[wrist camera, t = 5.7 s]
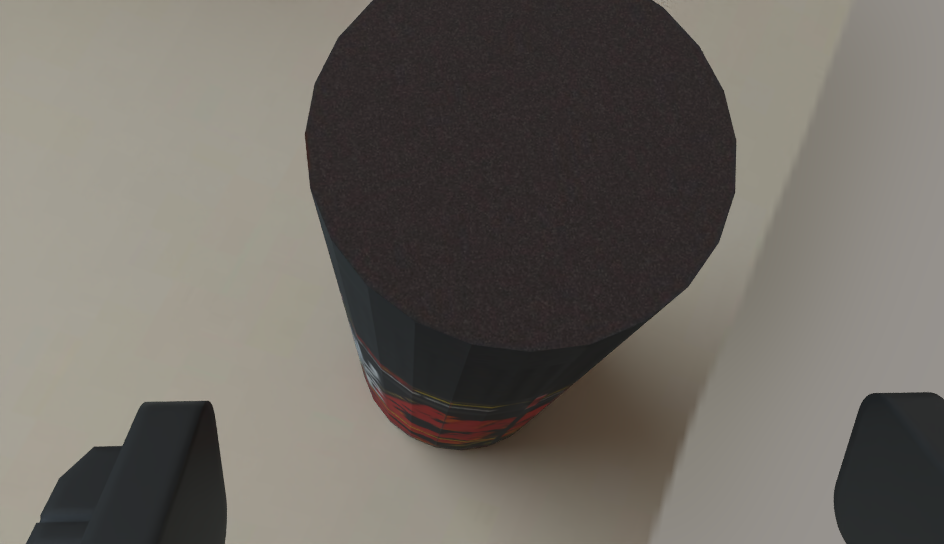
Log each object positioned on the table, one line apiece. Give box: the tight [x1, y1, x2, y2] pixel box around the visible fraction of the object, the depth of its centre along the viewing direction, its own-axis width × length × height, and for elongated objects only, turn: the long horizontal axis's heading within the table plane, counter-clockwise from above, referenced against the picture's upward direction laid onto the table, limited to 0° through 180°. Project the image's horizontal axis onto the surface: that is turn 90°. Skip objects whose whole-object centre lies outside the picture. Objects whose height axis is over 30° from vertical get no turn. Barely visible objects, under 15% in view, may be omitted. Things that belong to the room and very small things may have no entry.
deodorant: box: [305, 0, 736, 450], centre depth 19 cm, size 6×6×15 cm
